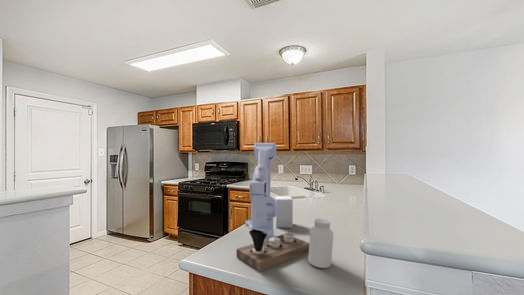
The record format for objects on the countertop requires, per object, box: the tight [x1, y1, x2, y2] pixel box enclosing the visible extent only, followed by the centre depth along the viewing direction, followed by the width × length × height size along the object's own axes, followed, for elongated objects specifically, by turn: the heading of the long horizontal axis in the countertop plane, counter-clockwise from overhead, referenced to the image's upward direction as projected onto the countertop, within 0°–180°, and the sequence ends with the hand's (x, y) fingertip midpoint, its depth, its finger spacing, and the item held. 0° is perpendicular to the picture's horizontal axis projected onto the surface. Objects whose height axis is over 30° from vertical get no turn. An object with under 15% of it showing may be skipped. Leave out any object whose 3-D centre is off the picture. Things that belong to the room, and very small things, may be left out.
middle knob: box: [269, 237, 280, 250], centre depth 89 cm, size 4×4×3 cm
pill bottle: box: [308, 218, 334, 269], centre depth 81 cm, size 8×8×15 cm
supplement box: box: [274, 195, 294, 229], centre depth 124 cm, size 9×9×15 cm
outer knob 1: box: [253, 248, 264, 256], centre depth 84 cm, size 4×4×3 cm
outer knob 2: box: [282, 232, 295, 244], centre depth 94 cm, size 4×4×3 cm
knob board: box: [236, 233, 310, 273], centre depth 89 cm, size 14×26×3 cm, turn 129°
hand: (258, 250), depth 84 cm, fingers closed, pressing on outer knob 1
